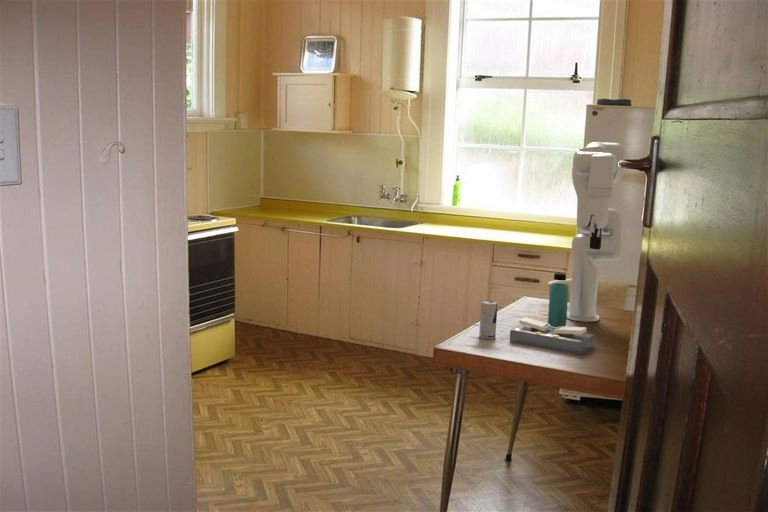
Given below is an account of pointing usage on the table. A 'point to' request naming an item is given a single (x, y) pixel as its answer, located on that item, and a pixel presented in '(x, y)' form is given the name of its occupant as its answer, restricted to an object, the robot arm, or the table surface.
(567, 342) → the grey rectangular tray
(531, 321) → the rocker
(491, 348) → the table surface
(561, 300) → the beverage bottle
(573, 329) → the rocker
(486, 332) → the energy drink
